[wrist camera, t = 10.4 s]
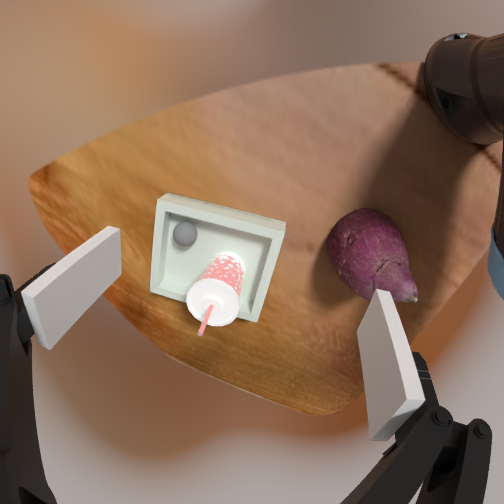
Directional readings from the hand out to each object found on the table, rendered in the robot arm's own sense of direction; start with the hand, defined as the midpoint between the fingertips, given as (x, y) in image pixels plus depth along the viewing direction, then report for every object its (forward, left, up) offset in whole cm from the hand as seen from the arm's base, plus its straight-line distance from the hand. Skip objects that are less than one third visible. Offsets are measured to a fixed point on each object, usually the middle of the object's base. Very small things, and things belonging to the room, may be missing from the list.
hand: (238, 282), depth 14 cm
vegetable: (-14, +5, -25) cm, 29 cm away
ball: (+9, +9, -23) cm, 27 cm away
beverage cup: (+3, +13, -24) cm, 27 cm away
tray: (+5, +12, -24) cm, 28 cm away
